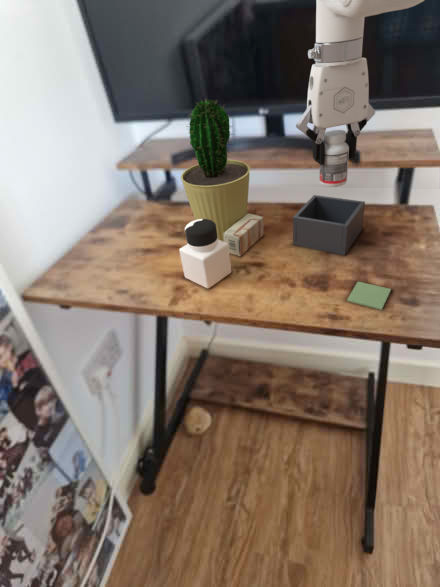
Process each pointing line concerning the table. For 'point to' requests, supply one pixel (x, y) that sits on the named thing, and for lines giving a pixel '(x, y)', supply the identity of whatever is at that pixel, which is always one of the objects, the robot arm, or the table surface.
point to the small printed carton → (244, 234)
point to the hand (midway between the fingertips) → (334, 158)
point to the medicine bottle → (204, 254)
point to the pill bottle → (335, 159)
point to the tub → (328, 224)
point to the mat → (369, 295)
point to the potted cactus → (215, 170)
